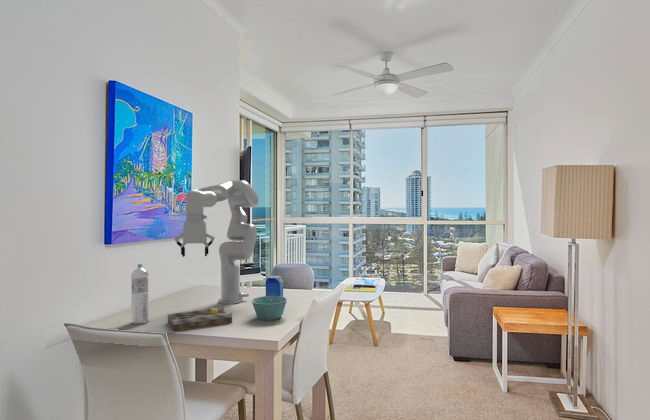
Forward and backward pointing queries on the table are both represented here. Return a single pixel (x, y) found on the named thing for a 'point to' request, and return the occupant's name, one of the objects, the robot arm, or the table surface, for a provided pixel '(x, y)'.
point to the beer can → (274, 286)
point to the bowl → (269, 307)
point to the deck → (198, 319)
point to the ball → (213, 311)
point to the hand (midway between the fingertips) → (194, 256)
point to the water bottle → (139, 296)
